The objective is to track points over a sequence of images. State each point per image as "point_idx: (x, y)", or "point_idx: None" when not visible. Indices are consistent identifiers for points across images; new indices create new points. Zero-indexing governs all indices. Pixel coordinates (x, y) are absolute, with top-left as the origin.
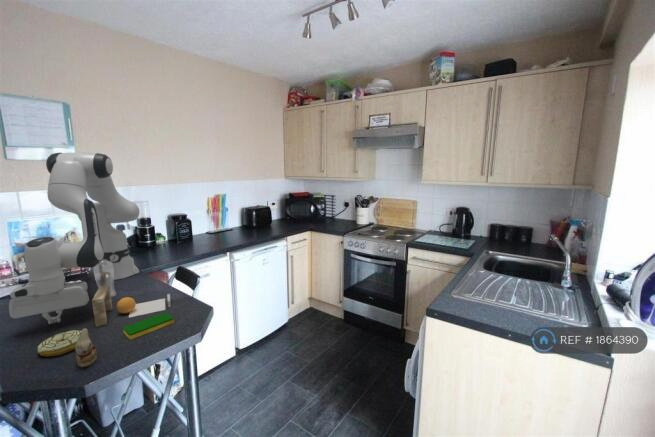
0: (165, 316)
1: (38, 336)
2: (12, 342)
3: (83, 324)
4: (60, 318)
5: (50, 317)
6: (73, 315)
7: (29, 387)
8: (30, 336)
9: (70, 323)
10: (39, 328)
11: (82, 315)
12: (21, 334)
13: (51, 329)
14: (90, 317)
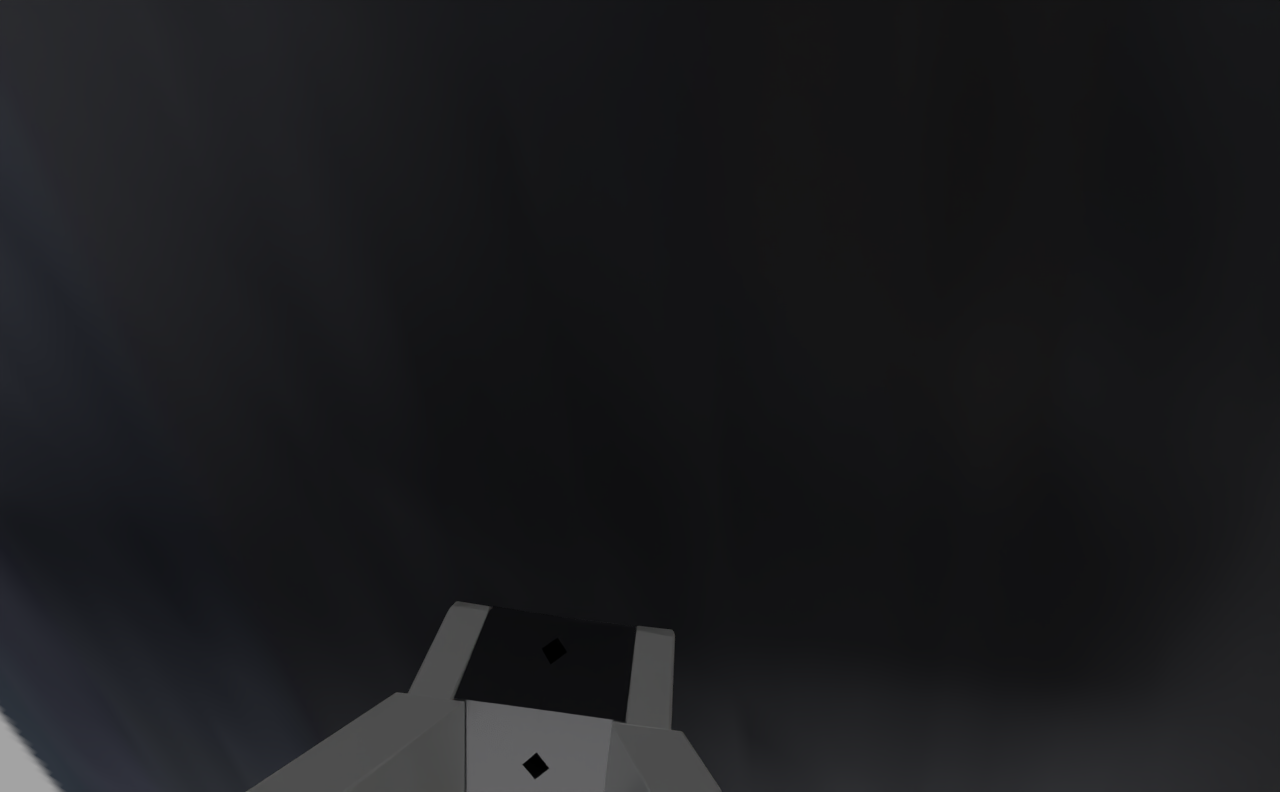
0: None
1: None
2: (94, 744)
3: (1044, 780)
4: (673, 658)
5: (446, 763)
6: (924, 66)
7: None
8: (273, 703)
9: (838, 590)
10: (285, 449)
11: (1132, 259)
12: (62, 529)
13: None
14: (1247, 537)
